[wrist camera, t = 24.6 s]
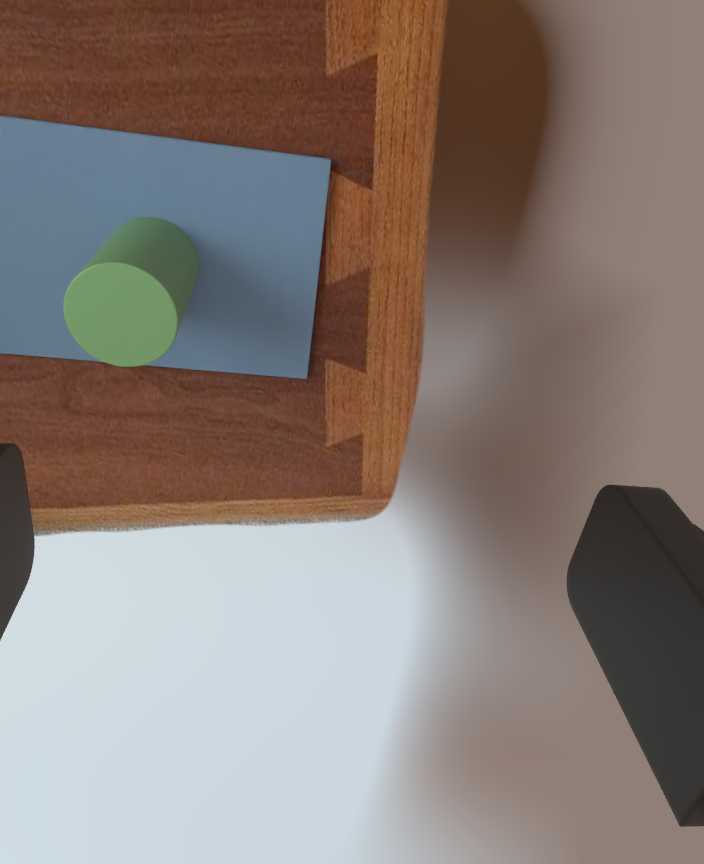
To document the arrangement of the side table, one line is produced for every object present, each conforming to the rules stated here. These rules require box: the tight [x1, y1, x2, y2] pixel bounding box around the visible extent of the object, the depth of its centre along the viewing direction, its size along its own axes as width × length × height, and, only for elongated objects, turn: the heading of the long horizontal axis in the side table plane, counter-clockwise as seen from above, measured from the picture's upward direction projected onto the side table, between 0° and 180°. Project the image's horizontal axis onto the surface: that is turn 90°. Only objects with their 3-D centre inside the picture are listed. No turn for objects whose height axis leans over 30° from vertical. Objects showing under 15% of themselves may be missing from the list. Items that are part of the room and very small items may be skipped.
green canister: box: [63, 217, 199, 367], centre depth 36 cm, size 5×5×9 cm
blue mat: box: [0, 115, 331, 379], centre depth 40 cm, size 20×14×1 cm
